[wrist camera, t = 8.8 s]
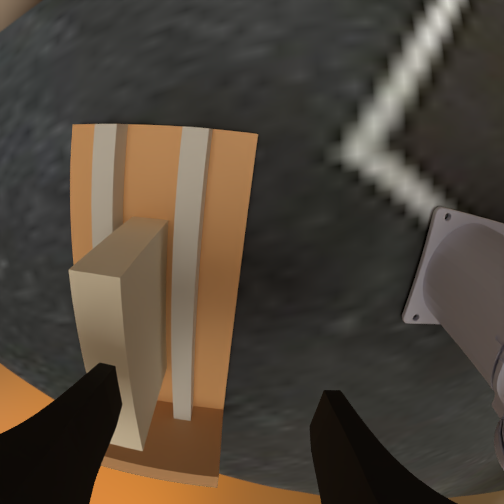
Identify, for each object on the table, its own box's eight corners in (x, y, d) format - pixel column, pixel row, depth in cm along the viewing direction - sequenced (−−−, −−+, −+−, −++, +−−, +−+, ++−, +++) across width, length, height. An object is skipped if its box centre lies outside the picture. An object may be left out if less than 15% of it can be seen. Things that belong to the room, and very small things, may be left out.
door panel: (168, 220, 16) (120, 278, 10) (167, 367, 20) (142, 451, 13) (132, 216, 16) (68, 269, 10) (138, 362, 20) (106, 442, 13)
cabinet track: (257, 134, 16) (264, 133, 9) (222, 412, 23) (217, 487, 16) (81, 124, 15) (1, 128, 9) (101, 391, 22) (72, 456, 16)
